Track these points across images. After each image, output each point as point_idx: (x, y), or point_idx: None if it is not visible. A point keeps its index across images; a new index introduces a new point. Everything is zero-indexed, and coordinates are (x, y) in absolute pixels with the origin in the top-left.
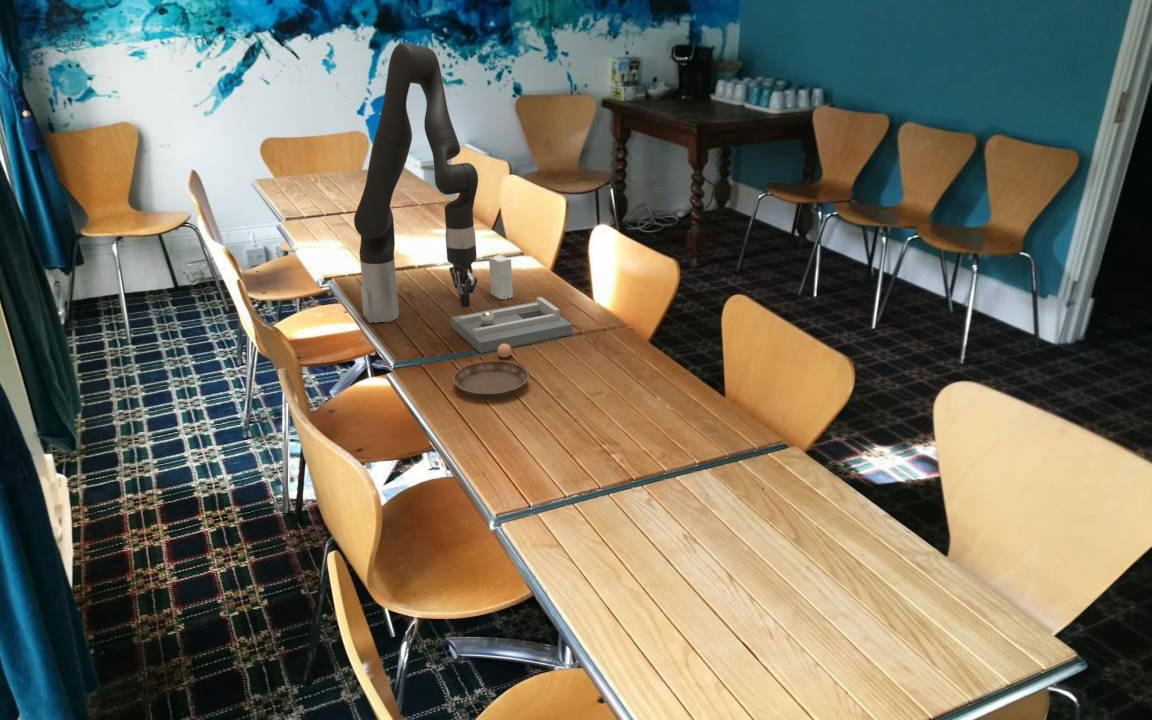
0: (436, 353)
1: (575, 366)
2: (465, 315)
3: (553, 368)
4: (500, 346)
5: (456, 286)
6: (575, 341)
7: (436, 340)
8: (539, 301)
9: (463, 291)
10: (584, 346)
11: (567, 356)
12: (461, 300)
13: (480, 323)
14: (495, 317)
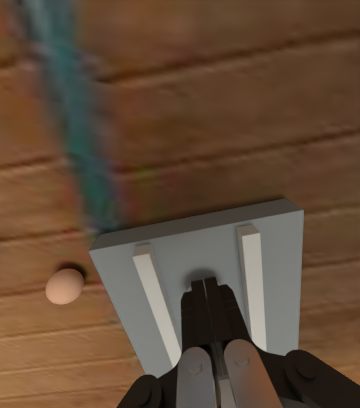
0: (117, 126)
1: (26, 357)
2: (295, 248)
3: (16, 332)
4: (53, 288)
5: (290, 379)
6: (130, 374)
7: (211, 142)
8: None
9: (143, 405)
10: (107, 379)
11: (68, 356)
12: (197, 308)
13: (221, 272)
14: (245, 307)
